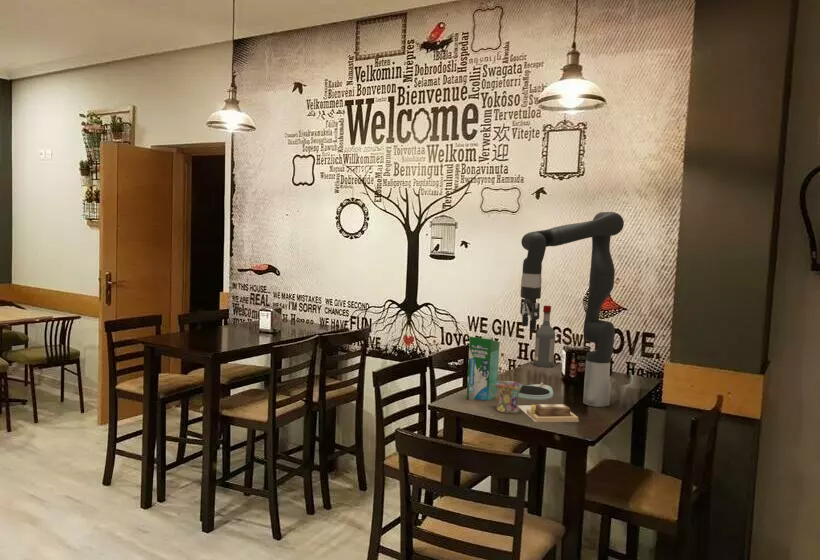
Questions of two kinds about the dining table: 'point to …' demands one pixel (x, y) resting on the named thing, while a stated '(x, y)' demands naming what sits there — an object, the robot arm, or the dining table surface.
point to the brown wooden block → (552, 410)
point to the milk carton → (482, 368)
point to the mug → (508, 396)
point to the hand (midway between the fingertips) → (528, 328)
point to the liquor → (545, 342)
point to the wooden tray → (531, 412)
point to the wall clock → (536, 392)
